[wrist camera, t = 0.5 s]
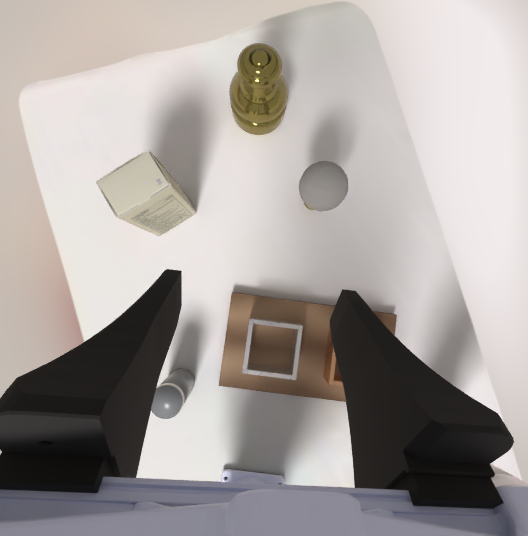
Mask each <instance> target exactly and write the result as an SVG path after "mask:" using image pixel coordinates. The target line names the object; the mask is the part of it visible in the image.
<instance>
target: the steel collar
mask: <svg viewBox="0 0 528 536" xmlns="http://www.w3.org/2000/svg"><path fill="white" fill-rule="evenodd" d="M253 323H254V324H261V325H269V326H276V327H284V328H291V329H294V337H293V345H292V353H291V361H290V368H289V369H288V368H280V367H272V366H265V365H257V364H249V363H248V358H249V351H250V343H251V336H252V329H253ZM302 329H303V326H302V325H301V324H300V323H296V322H289V321H281V320H274V319H266V318H259V317H251V316H250V319H249V327H248V334H247V341H246V348H245V356H244V363H243V371H242V373H244V374H252V375H260V376H268V377H276V378H283V379H291V380H296V376H297V369H298V361H299V353H300V345H301V337H302Z"/></svg>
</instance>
